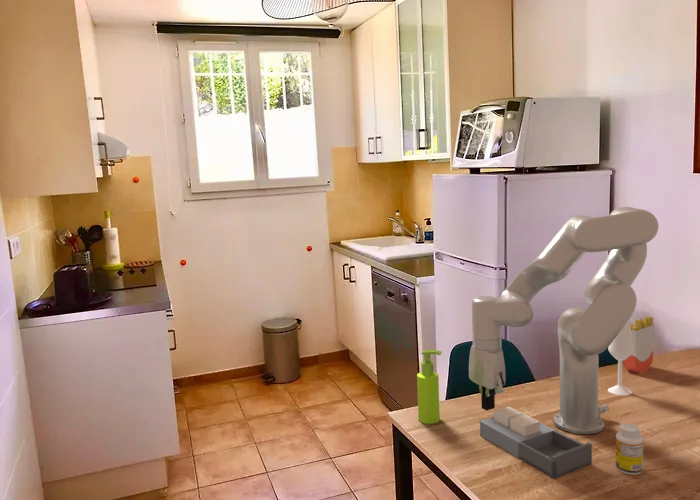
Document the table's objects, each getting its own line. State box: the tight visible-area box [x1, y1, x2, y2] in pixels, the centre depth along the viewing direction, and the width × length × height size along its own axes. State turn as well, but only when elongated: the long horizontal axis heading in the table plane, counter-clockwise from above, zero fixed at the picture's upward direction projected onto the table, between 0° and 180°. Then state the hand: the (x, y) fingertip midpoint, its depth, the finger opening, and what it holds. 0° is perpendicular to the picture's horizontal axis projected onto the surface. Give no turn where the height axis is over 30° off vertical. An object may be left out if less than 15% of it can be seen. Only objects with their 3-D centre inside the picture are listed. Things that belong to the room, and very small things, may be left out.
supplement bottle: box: [615, 422, 644, 476], centre depth 129 cm, size 6×6×10 cm
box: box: [518, 429, 593, 480], centre depth 134 cm, size 12×11×5 cm
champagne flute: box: [607, 318, 633, 396], centre depth 172 cm, size 7×7×24 cm
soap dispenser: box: [416, 349, 443, 425], centre depth 159 cm, size 6×7×20 cm
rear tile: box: [493, 406, 523, 427], centre depth 148 cm, size 5×5×2 cm
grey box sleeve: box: [479, 413, 555, 459], centre depth 146 cm, size 12×14×4 cm
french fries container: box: [622, 316, 655, 374], centre depth 189 cm, size 5×11×18 cm, turn 124°
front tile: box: [510, 414, 541, 436], centre depth 142 cm, size 5×5×2 cm
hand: (488, 408), depth 155 cm, fingers closed
